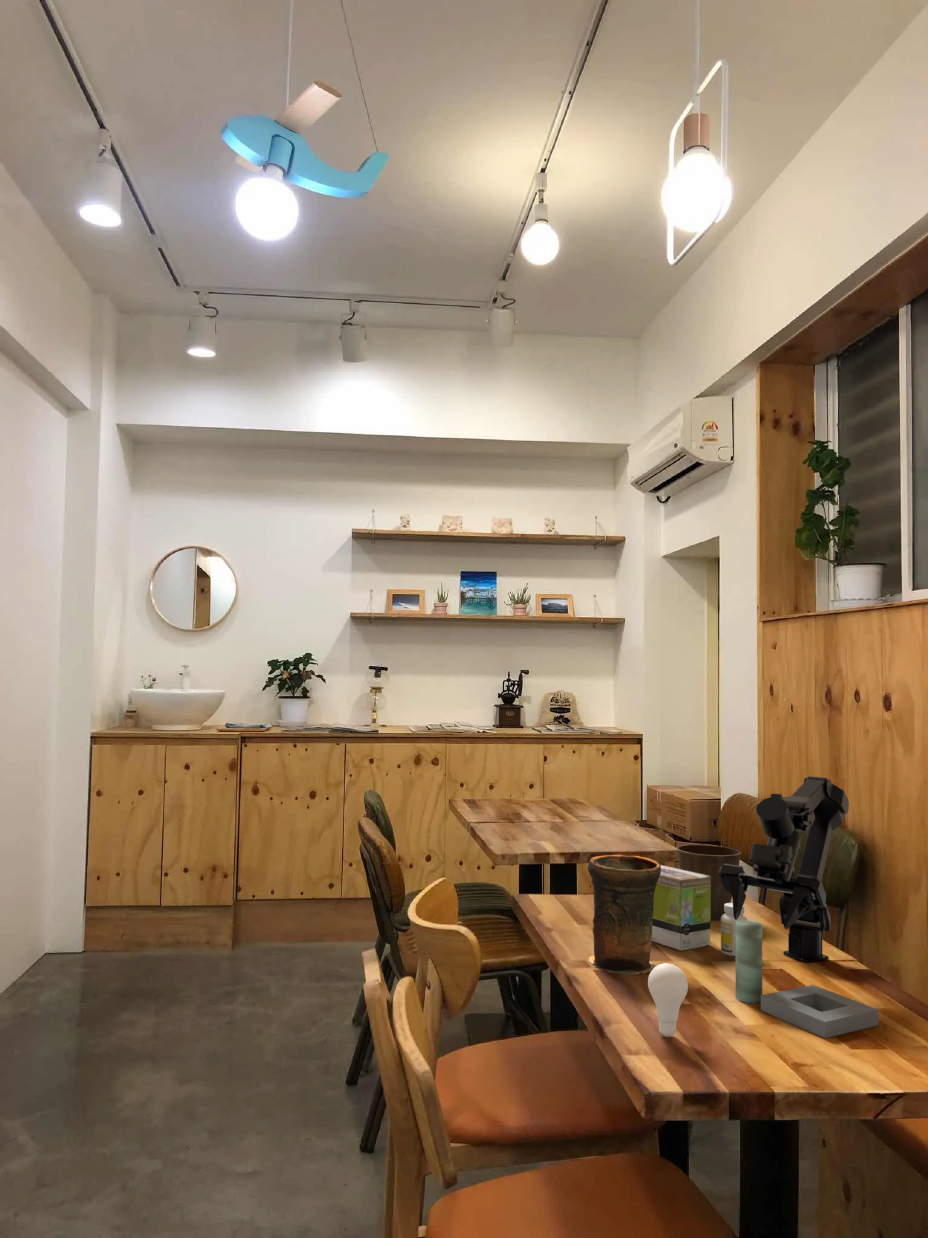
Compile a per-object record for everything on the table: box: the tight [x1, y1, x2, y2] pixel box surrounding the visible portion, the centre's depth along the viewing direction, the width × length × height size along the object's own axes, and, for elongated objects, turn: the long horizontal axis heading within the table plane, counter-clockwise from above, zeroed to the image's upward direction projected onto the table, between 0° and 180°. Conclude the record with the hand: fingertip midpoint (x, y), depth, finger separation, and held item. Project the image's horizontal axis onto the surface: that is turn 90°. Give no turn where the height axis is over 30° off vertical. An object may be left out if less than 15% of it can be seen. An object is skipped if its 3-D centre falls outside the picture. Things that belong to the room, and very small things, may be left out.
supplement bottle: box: [720, 902, 748, 957], centre depth 181 cm, size 5×5×10 cm
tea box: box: [651, 864, 712, 951], centre depth 190 cm, size 15×10×15 cm, turn 34°
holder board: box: [760, 984, 880, 1039], centre depth 145 cm, size 13×13×2 cm
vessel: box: [587, 854, 661, 976], centre depth 173 cm, size 14×14×20 cm
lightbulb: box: [647, 963, 689, 1038], centre depth 136 cm, size 6×6×11 cm
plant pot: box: [676, 844, 742, 922], centre depth 210 cm, size 15×15×16 cm
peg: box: [735, 919, 763, 1004], centre depth 154 cm, size 4×4×13 cm
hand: (759, 923), depth 159 cm, fingers open, 9 cm apart
